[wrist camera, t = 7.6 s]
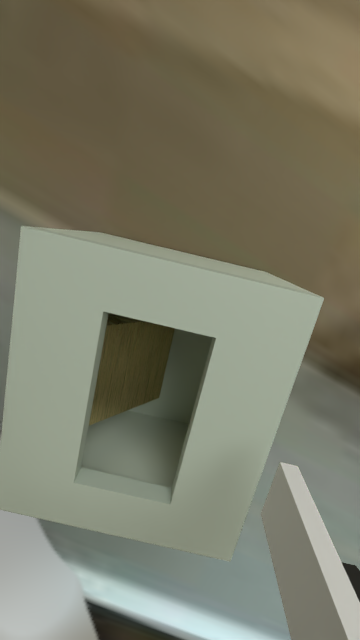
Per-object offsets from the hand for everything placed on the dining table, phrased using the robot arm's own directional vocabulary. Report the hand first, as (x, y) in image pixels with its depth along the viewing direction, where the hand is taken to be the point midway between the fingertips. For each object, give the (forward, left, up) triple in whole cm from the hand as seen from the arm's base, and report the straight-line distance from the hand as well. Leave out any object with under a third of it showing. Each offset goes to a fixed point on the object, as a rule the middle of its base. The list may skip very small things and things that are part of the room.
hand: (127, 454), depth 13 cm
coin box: (0, 0, -15) cm, 15 cm away
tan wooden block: (0, 0, -13) cm, 13 cm away
